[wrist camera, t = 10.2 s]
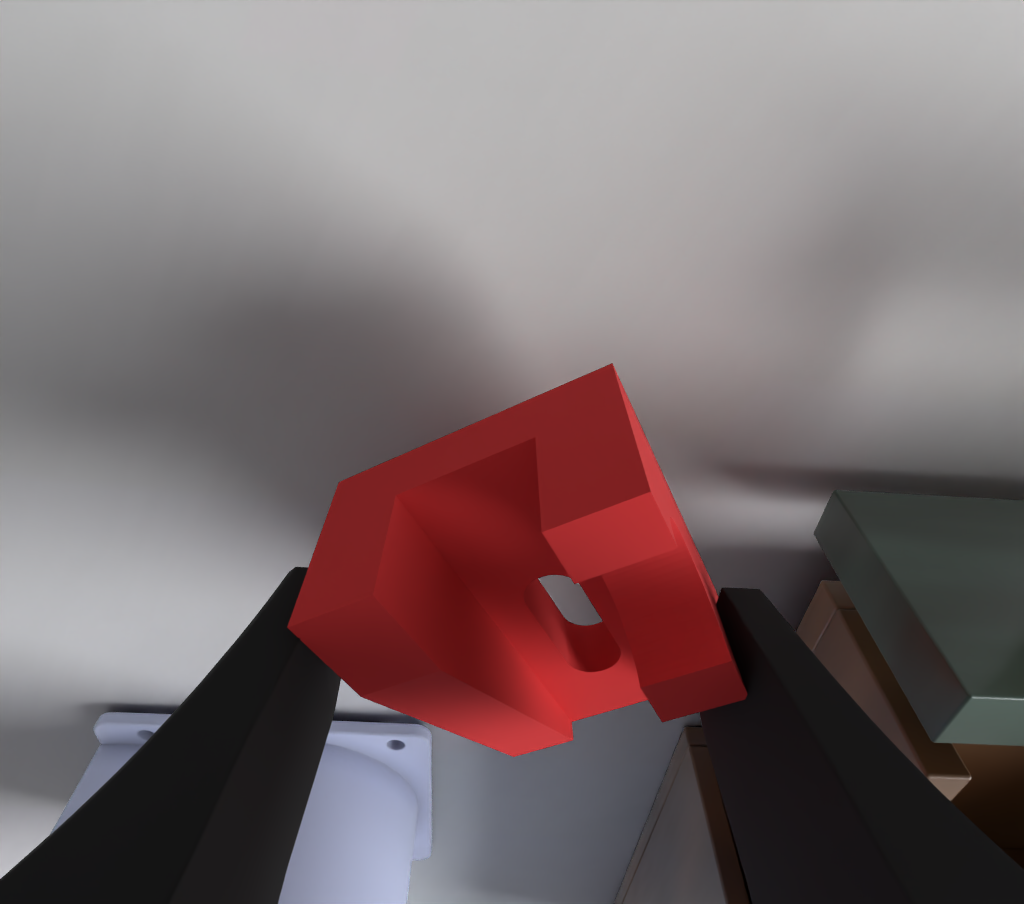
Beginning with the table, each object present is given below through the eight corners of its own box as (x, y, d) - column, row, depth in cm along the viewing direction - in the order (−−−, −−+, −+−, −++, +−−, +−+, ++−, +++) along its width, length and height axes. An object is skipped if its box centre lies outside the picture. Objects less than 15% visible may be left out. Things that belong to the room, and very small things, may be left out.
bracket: (338, 481, 10) (287, 627, 8) (612, 362, 9) (651, 491, 7) (512, 692, 14) (514, 840, 11) (730, 624, 13) (786, 775, 10)
